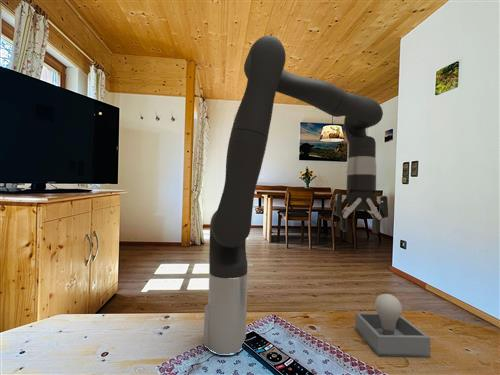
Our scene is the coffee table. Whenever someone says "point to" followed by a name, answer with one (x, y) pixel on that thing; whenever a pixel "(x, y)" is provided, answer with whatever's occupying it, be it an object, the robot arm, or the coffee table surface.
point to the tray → (392, 337)
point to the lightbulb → (388, 312)
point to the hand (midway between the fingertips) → (359, 232)
